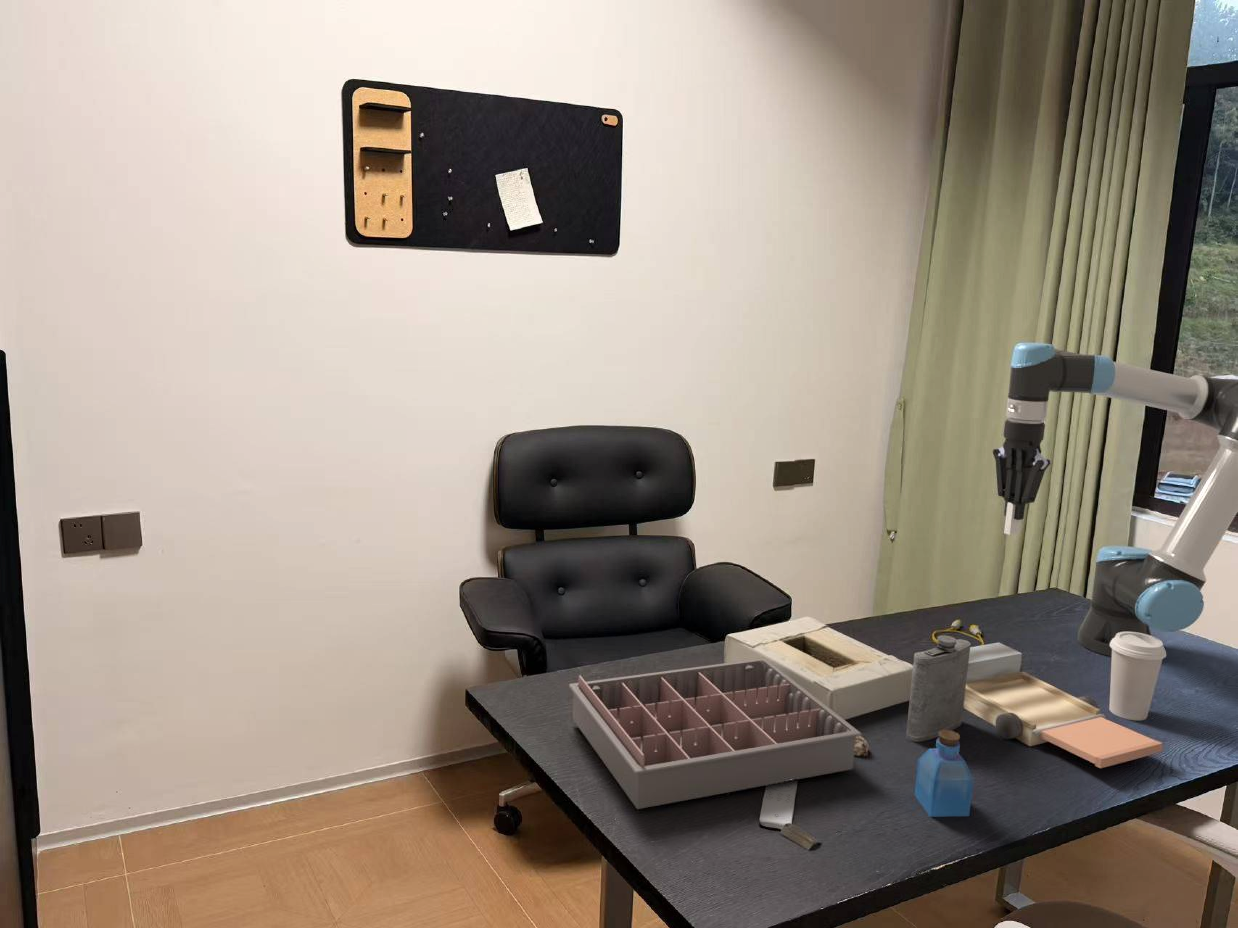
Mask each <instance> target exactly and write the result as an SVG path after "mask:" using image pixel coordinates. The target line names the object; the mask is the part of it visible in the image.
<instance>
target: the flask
mask: <svg viewBox="0 0 1238 928" xmlns="http://www.w3.org/2000/svg"><path fill="white" fill-rule="evenodd" d="M936 640H937V642H938V644H937V646H936V647H933V648H931V649H927V650H925V651H919V652H915V653H914V655H913V664H912V665H913V673H912V683H911V693H910V700H909V701H908V702H909V703H908V715H907V724H906V734H905V738H906V739H907V740H908V741H910V742H913V743H920V742H925V741H928V740H933V739H936V738H939V734H938V733H939V731H942V730H949V731H954V730H956V729H957V728H958V727H960V726H961V725H962V724H963V723H962V722H963V714H964V708H963V707H964V698H965V689H966V681H967V672H968V663H969V654H970V647H971V646H972V644H971V642H970V641H968V640H966V639H956V638H955V637H953V636H951V635H939V636H937V638H936Z"/></svg>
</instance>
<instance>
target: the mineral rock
mask: <svg viewBox="0 0 1238 928" xmlns="http://www.w3.org/2000/svg"><path fill="white" fill-rule="evenodd" d="M869 750H870V745H869V744H868V741H867V739H865V738H864V737H863V736H862V735H860V736H856V739H855V750H854V756H857V757H860V756H866V757H867V755H869V753H868V751H869Z"/></svg>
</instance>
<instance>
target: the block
mask: <svg viewBox="0 0 1238 928" xmlns="http://www.w3.org/2000/svg"><path fill="white" fill-rule="evenodd" d="M780 836H782V837H784V838H786V839H787V840H788V841H789V840H790V841H791V842H793V843H795V844H796V845H798V846H800V847H802V848H803V849H805V850H806V851H808V852H809V851H811V850H813V849H815V848H817V847H818V846H820V845H822V842H821V841H819V840H818V839H817V838H815V837H814V836H813V835H811V834H809V832H807V831H805V830H804V829H802V828H801V827H799V826H797V824H796V825H795V824H793V823H791V822H788V823H785V824H783V825H782V827H781V830H780Z"/></svg>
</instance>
